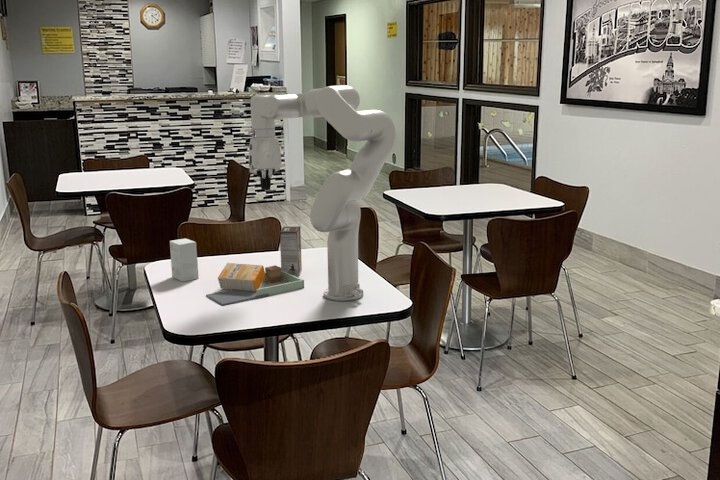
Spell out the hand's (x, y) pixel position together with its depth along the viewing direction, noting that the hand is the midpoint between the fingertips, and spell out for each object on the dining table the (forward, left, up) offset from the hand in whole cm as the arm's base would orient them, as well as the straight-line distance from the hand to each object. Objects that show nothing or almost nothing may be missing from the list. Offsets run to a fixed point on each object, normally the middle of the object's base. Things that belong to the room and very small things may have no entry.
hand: (265, 189), depth 237 cm
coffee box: (+2, -10, -31) cm, 33 cm away
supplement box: (-9, +8, -27) cm, 30 cm away
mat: (-10, +17, -31) cm, 37 cm away
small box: (+20, +22, -31) cm, 43 cm away
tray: (-8, +4, -31) cm, 32 cm away
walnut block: (-3, 0, -31) cm, 31 cm away
